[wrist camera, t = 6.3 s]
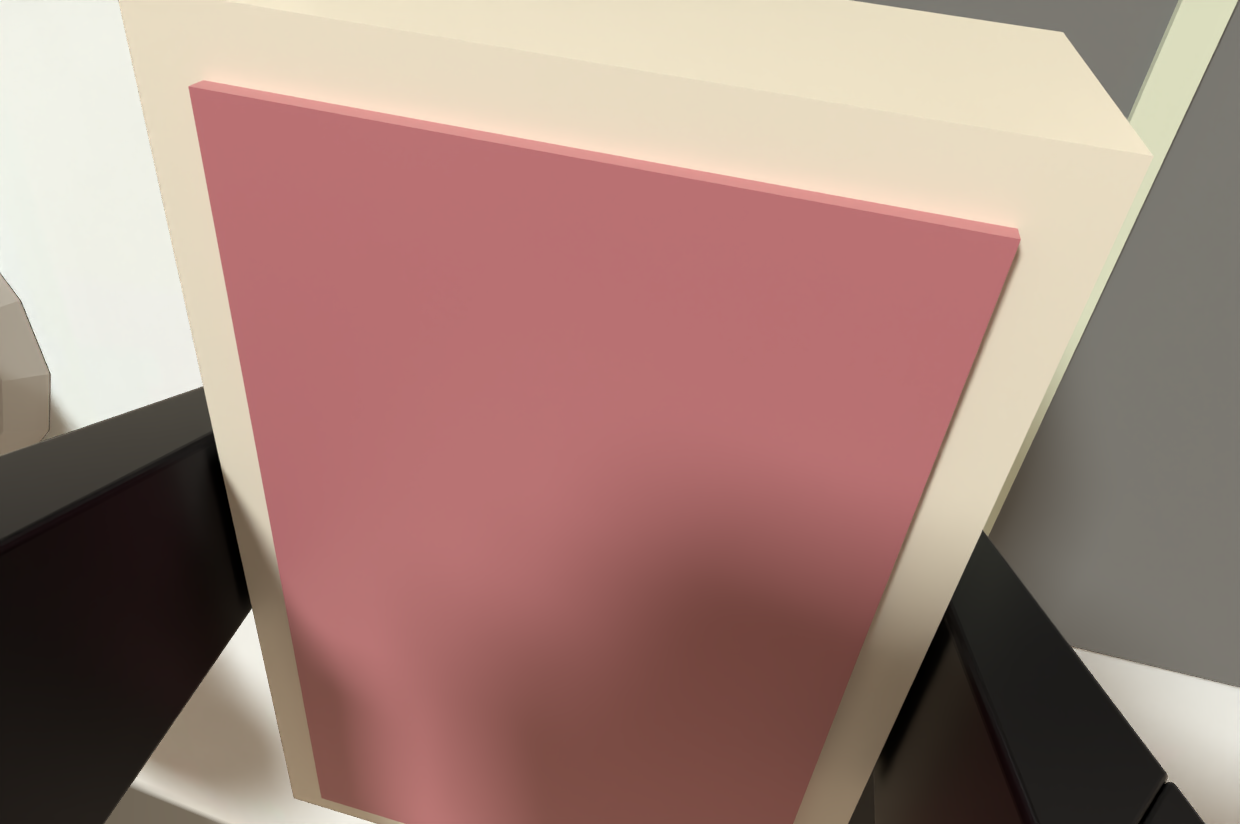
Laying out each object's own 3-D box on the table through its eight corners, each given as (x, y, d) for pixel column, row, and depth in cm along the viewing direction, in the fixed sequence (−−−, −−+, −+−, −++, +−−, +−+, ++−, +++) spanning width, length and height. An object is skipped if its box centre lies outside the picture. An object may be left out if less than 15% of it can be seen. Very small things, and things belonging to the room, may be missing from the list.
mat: (2731, -143, 8) (2838, -140, 8) (1589, 757, 16) (1608, 783, 16) (293, -383, 11) (269, -391, 11) (369, 461, 20) (357, 476, 19)
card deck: (809, 724, 12) (788, 965, 10) (403, 614, 13) (287, 809, 11) (1062, 32, 7) (1161, 166, 4) (353, -75, 8) (97, -15, 5)
